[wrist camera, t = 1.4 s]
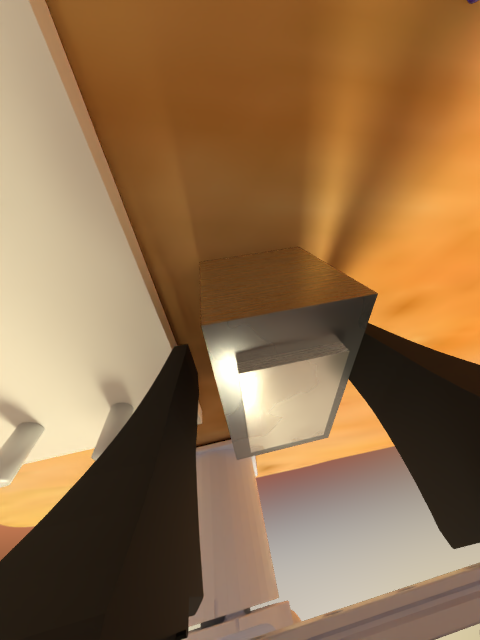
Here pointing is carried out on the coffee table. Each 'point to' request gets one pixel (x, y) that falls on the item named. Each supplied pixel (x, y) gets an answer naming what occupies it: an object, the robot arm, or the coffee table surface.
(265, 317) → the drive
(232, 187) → the coffee table surface
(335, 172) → the coffee table surface
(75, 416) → the white pegged panel
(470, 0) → the supplement box
